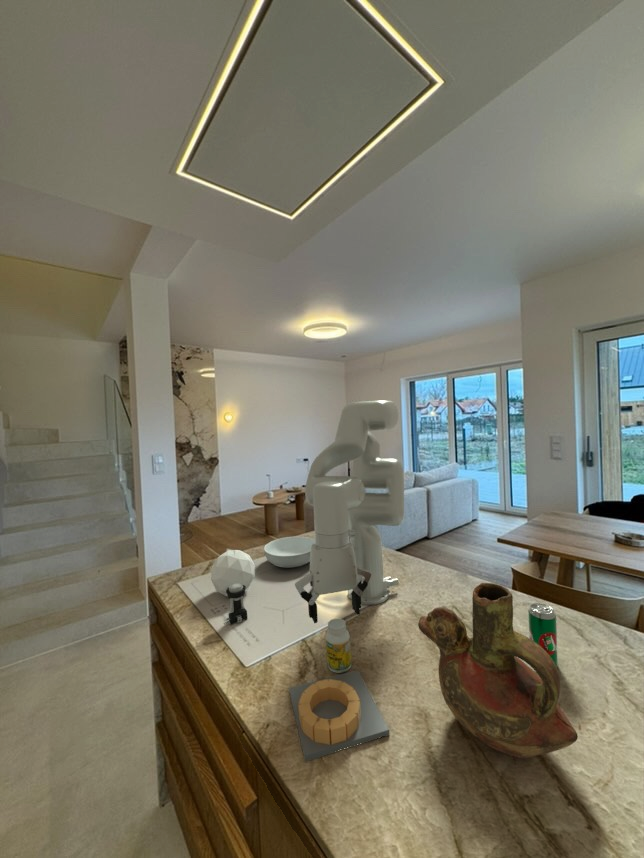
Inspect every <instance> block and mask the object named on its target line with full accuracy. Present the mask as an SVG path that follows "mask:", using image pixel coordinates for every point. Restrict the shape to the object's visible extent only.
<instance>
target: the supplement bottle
mask: <svg viewBox="0 0 644 858" xmlns="http://www.w3.org/2000/svg"><path fill="white" fill-rule="evenodd" d="M325 647H326V659H327V660H326V661H327V667H328V669H329V670H330V671H331V672H333V673H335V674H344V673H347V671H349V670H350V668H351V667H352V654H351V637H350V632H349V631H348V630H347V624H346V621H345V620H344V619H343V618H342V619H341V618H333V619H330V620H329V621H328V623H327V631H326V634H325Z"/></svg>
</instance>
